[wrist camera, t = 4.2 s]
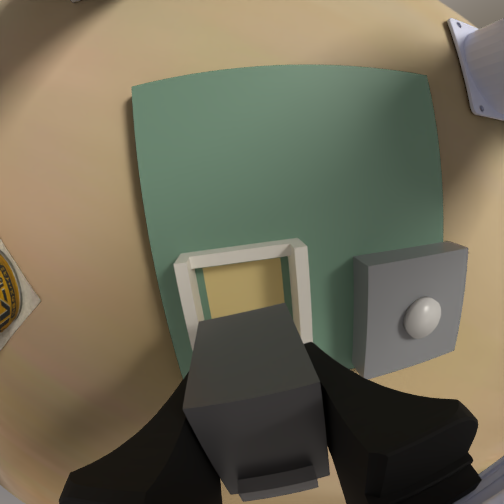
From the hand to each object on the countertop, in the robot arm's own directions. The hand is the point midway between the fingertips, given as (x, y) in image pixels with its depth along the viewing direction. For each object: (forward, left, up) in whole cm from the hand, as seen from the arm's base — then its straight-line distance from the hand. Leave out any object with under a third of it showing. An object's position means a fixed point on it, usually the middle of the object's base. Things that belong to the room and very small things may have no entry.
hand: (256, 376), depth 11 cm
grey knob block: (-10, +1, -6) cm, 12 cm away
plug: (0, 0, -1) cm, 1 cm away
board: (-4, -4, -6) cm, 9 cm away
